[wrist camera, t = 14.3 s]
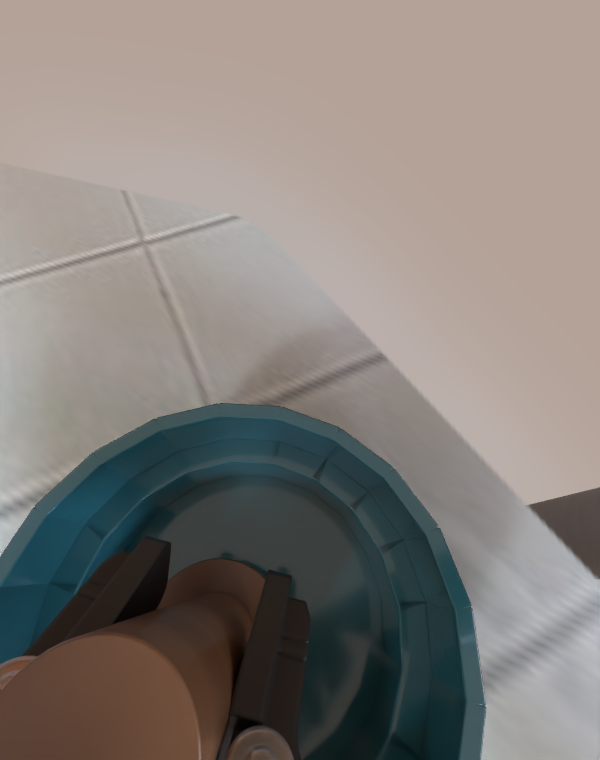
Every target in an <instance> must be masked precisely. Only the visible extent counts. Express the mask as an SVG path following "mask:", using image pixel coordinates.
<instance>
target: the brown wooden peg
mask: <svg viewBox="0 0 600 760" xmlns="http://www.w3.org/2000/svg"><path fill="white" fill-rule="evenodd" d="M265 579H266V577H265V576H264V575H263V574H262V573H261V572H260V571H258V570H257V569H256V568H254V567H252V566H250V565H249V564H246V563H244V562H241V561H237V560H232V559H222V558H217V559H208V560H204V561H200V562H197V563H195V564H192V565H190V566H188V567H186V568H184V569H183V570H181V571H180V572H178V573H177V574H176V575H174V576H173V577H172V578H171V579H170V580H169V581H168V582H167V586H166V590H165V593H164V595H163V598H162V600H161V602H160V604H159V606H158V608H157V609H156V610H154V611H151V612H148V613H145V614H142V615H139V616H136V617H133V618H131V619H128V620H125V621H122V622H119V623H116V624H113V625H110V626H107V627H104V628H101V629H98V630H95V631H92V632H89V633H86V634H83V635H80V636H77V637H74V638H72V639H69V640H66V641H64V642H61V643H60V644H58V645H56V646H54V647H52V648H50V649H48V650H46V651H45V652H44V653H42V654H41V655H39V656H38V657H36V658H35V659H33V660H32V661H31V662H30V663H28V664H27V665H26V666H25V667H24V668H22V669H21V670H20V671H19V672H18V673H17V674H16V675H15V676H14V677H13V678H12V679H11V680H10V681H9V682H8V683H7V684H6V685H5V686H4V687H3V688H2V690H1V691H0V760H216V758H217V755H218V752H219V750H220V747H221V744H222V741H223V738H224V736H225V733H226V729H227V726H228V719H229V709H230V703H231V699H232V695H233V692H234V688H235V685H236V681H237V678H238V674H239V671H240V667H241V664H242V660H243V657H244V653H245V649H246V646H247V642H248V639H249V635H250V632H251V628H252V625H253V621H254V618H255V614H256V611H257V607H258V604H259V600H260V597H261V593H262V590H263V586H264V583H265Z"/></svg>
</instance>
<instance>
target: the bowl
mask: <svg viewBox="0 0 600 760" xmlns="http://www.w3.org/2000/svg"><path fill="white" fill-rule="evenodd" d="M438 527H439V526H438V525H437V523H436V522H435V521H434V519H433V518H432V517H431V515H430V514H429V513H428V511H427V510H426V509H425V508H424V506H423V505H422V504H421V502H420V501H419V500H418V498H417V497H416V496H415V494H414V493H413V492H412V491H411V489H410V488H409V487H408V485H407V484H406V483H405V481H404V480H403V479H402V477H401V476H400V475H399V474H398V472H397V471H396V470H395V469H393V467H392V466H391V465H390V464H388V463H387V462H386V461H384V460H383V459H382V458H380V457H379V456H378V455H376V454H375V453H374V452H372V451H371V450H370V449H368V448H367V447H366V446H364V445H363V444H361V443H360V442H359V441H357V440H356V439H355V438H353V437H352V436H351V435H349V434H348V433H347V432H345V431H344V430H343V429H340V428H339V427H337V426H334V425H331V424H329V423H326V422H323V421H320V420H318V419H315V418H312V417H309V416H306V415H304V414H301V413H298V412H295V411H293V410H290V409H287V408H284V407H280V406H266V405H247V404H228V403H220V404H214V405H209V406H205V407H201V408H197V409H192V410H188V411H184V412H180V413H175V414H171V415H167V416H162V417H158V418H157V419H153V420H151V421H150V422H148V423H146V424H144V425H142V426H140V427H138V428H137V429H135V430H133V431H131V432H129V433H127V434H126V435H124V436H122V437H120V438H118V439H116V440H115V441H113V442H111V443H109V444H107V445H105V446H103V447H102V448H100V449H98V450H96V451H95V452H94V453H91V454H90V455H89V456H88V457H87V458H86V459H85V460H84V461H83V462H82V463H81V464H80V465H78V466H77V467H76V468H75V469H74V470H73V471H72V472H71V473H70V474H69V475H68V476H66V477H65V478H64V479H63V480H62V481H61V482H60V483H59V484H58V485H57V486H56V487H55V488H53V489H52V490H51V491H50V492H49V493H48V494H47V495H46V496H45V497H44V498H43V499H41V500H40V501H39V502H38V503H37V504H36V505H35V507H34V508H33V509H32V510H31V512H30V513H29V515H28V516H27V518H26V519H25V521H24V522H23V524H22V525H21V527H20V528H19V530H18V531H17V533H16V534H15V536H14V537H13V538H12V540H11V541H10V543H9V544H8V546H7V547H6V549H5V550H4V552H3V553H2V555H1V556H0V664H2V663H4V662H6V661H8V660H11V659H13V658H17V657H20V656H22V655H23V654H24V653H25V652H26V651H27V650H28V649H29V648H30V647H31V646H32V644H33V643H34V642H35V641H36V640H37V639H38V637H39V636H40V635H41V634H42V633H43V631H44V630H45V629H46V628H47V627H48V626H49V624H50V623H51V622H52V621H53V620H54V619H55V617H56V616H57V615H58V614H59V613H60V612H61V610H62V609H63V608H64V607H65V606H66V604H67V603H68V602H69V601H70V600H71V599H72V597H73V596H74V595H76V594H77V592H78V590H79V589H80V588H81V587H82V586H83V584H84V583H85V582H86V581H88V580H89V577H90V576H91V575H92V574H93V573H94V572H95V570H96V569H97V568H98V567H99V566H100V564H101V563H102V562H103V561H105V560H106V559H108V558H109V557H111V556H113V555H114V554H116V553H117V552H119V551H120V550H123V551H127V552H130V553H132V551H133V550H134V549H135V547H136V546H137V545H138V544H139V542H140V541H141V540H142V539H143V538H144V537H145V536H149V537H153V538H156V539H160V540H164V541H167V542H170V543H171V554H170V564H169V574H168V581H169V580H170V579H171V578H172V577H173V576H174V575H176V574H177V573H178V572H180V571H181V570H183V569H184V568H186V567H188V566H190V565H192V564H195V563H197V562H200V561H204V560H208V559H217V558H222V559H232V560H237V561H241V562H244V563H246V564H249V565H250V566H252V567H254V568H256V569H257V570H258V571H260V572H261V573H262V574H263V575H264V576H265V577H266V576H267V572H268V569H269V570H273V571H277V572H280V573H284V574H288V575H291V576H292V580H291V585H290V590H289V595H288V597H292V598H296V599H299V600H303V601H306V603H307V607H308V611H309V614H310V618H311V626H310V634H309V641H308V650H307V658H306V667H305V675H304V683H303V691H302V699H301V708H300V716H299V724H298V735H297V738H298V748H299V753H300V757H301V760H481V752H482V743H483V734H484V725H485V716H486V707H485V705H486V700H485V693H484V686H483V679H482V672H481V665H480V658H479V651H478V644H477V637H476V629H475V622H474V615H473V609H472V608H471V606H472V605H471V602H470V600H469V597H468V595H467V593H466V590H465V588H464V585H463V583H462V580H461V578H460V576H459V573H458V571H457V568H456V566H455V563H454V561H453V559H452V556H451V554H450V551H449V549H448V546H447V544H446V542H445V539H444V537H443V534H442V532H441V530H440V528H438ZM220 748H221V747H220ZM219 753H220V750H219V752H218V755H217V758H216V760H218V758H219Z"/></svg>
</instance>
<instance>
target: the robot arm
mask: <svg viewBox="0 0 600 760" xmlns="http://www.w3.org/2000/svg"><path fill="white" fill-rule="evenodd" d="M170 554H171V543H170V542H167V541H164V540H160V539H156V538H153V537H149V536H145V537H144V538H143V539H142V540H141V541H140V542H139V544H138V545H137V546H136V547H135V549H134V550H133V551H132V553H130V552H127V551H123V550H120V551H119V552H117V553H116V554H114V555H113V556H111V557H109V558H108V559H106V560H105V561H103V562H102V563H101V564H100V566H99V567H98V568H97V569H96V570H95V572H94V573H93V574H92V575H91V576H90V577H89V580H88V581H86V582H85V583H84V584H83V586H82V587H81V588H80V589H79V590H78V592H77V594H76V595H74V596H73V597H72V599H71V600H70V601H69V602H68V603H67V604H66V606H65V607H64V608H63V609H62V610H61V612H60V613H59V614H58V615H57V616H56V617H55V619H54V620H53V621H52V622H51V623H50V624H49V626H48V627H47V628H46V629H45V630H44V631H43V633H42V634H41V635H40V636H39V637H38V639H37V640H36V641H35V642H34V643H33V644H32V646H31V647H30V648H29V649H28V650H27V651H26V652H25V653H24V654H23V655H22V656H20V657H17V658H13V659H11V660H8V661H6V662H4V663H2V664H0V691H1V690H2V688H3V687H4V686H5V685H6V684H7V683H8V682H9V681H10V680H11V679H12V678H13V677H14V676H15V675H16V674H17V673H18V672H19V671H20V670H21V669H22V668H24V667H25V666H26V665H27V664H28V663H30V662H31V661H32V660H33V659H35V658H36V657H38V656H39V655H41V654H42V653H44V652H45V651H46V650H48V649H50V648H52V647H54V646H56V645H58V644H60V643H61V642H64V641H66V640H69V639H72V638H74V637H77V636H80V635H83V634H86V633H89V632H92V631H95V630H98V629H101V628H104V627H107V626H110V625H113V624H116V623H119V622H122V621H125V620H128V619H131V618H133V617H136V616H139V615H142V614H145V613H148V612H151V611H154V610H156V609H157V608H158V606H159V604H160V602H161V600H162V598H163V595H164V593H165V590H166V586H167V582H168V574H169V564H170ZM291 580H292V576H291V575H288V574H284V573H280V572H277V571H273V570H269V569H268V572H267V576H266V579H265V583H264V586H263V590H262V593H261V597H260V600H259V604H258V607H257V611H256V614H255V618H254V621H253V625H252V628H251V632H250V635H249V639H248V642H247V646H246V649H245V653H244V657H243V660H242V664H241V667H240V671H239V674H238V678H237V681H236V685H235V688H234V692H233V695H232V699H231V703H230V709H229V719H228V726H227V729H226V733H225V736H224V738H223V741H222V744H221V748H220V753H219V758H218V760H301V757H300V753H299V748H298V738H297V735H298V724H299V716H300V708H301V699H302V691H303V683H304V675H305V667H306V658H307V650H308V641H309V634H310V626H311V618H310V614H309V611H308V607H307V603H306V601H303V600H299V599H296V598H292V597H288V595H289V590H290V585H291Z"/></svg>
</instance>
